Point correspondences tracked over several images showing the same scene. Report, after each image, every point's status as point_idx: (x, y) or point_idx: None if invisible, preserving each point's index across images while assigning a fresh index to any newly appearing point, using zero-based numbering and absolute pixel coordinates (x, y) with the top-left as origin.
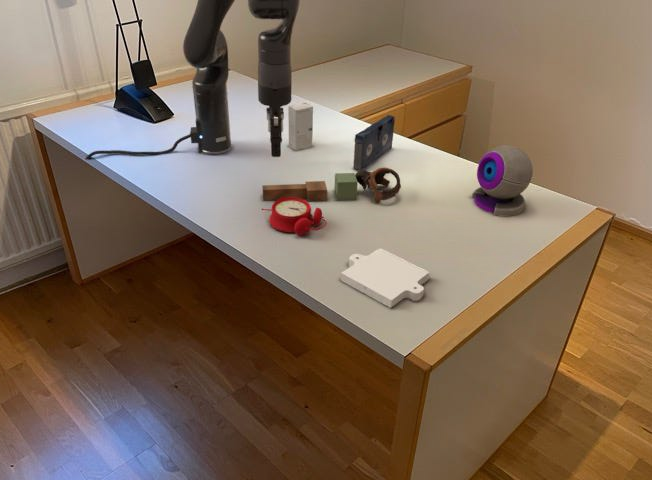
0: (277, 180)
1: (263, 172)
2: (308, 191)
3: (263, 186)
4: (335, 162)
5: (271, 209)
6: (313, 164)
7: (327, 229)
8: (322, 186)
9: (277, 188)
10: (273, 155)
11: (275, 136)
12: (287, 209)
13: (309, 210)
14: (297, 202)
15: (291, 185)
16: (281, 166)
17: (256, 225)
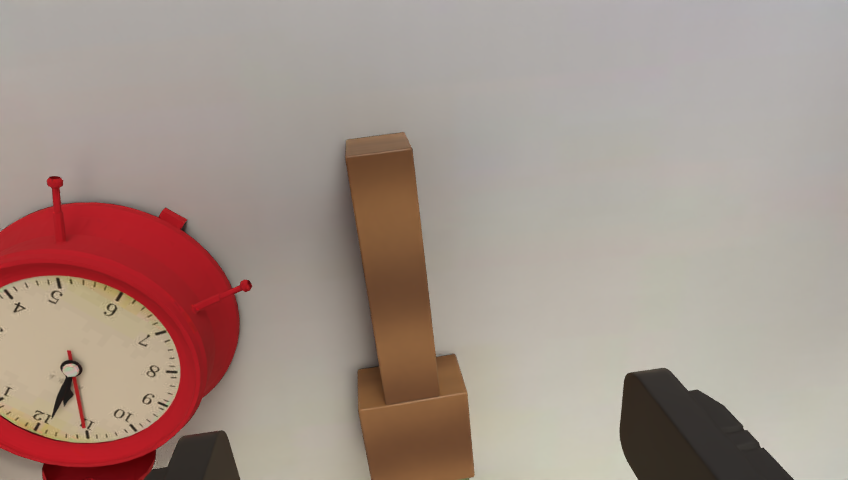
0: (598, 201)
1: (712, 108)
2: (359, 411)
3: (396, 156)
4: None
5: (23, 251)
6: (752, 365)
7: None
8: (410, 473)
9: (372, 249)
10: (152, 474)
11: (654, 463)
12: (53, 346)
13: (58, 464)
14: (164, 389)
15: (417, 326)
16: (766, 209)
17: (19, 124)
